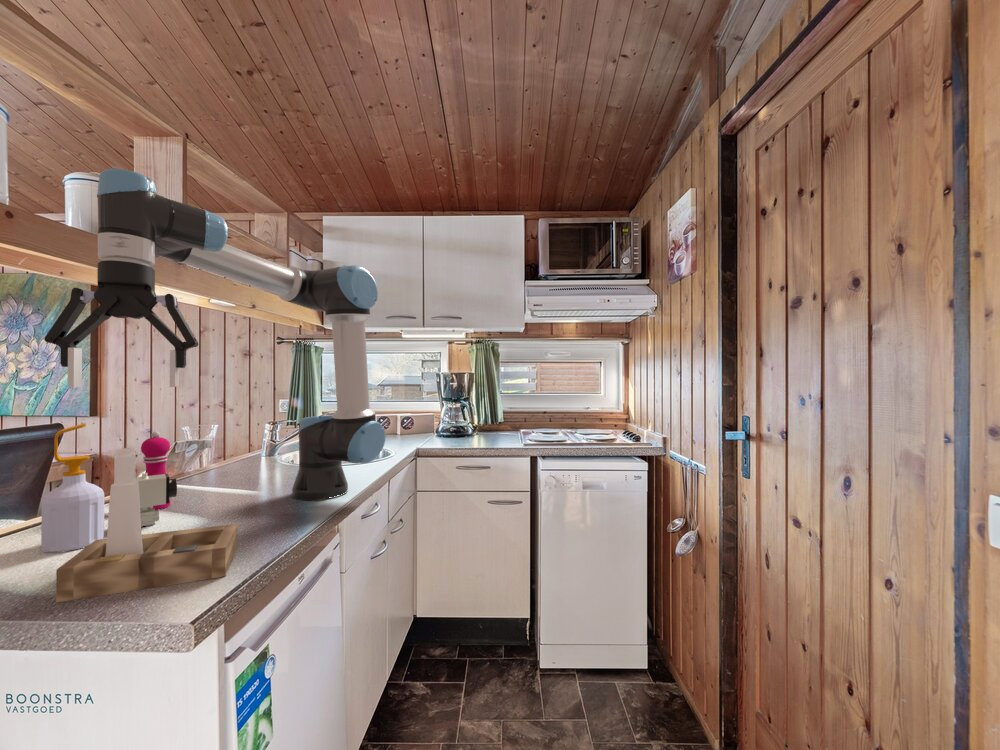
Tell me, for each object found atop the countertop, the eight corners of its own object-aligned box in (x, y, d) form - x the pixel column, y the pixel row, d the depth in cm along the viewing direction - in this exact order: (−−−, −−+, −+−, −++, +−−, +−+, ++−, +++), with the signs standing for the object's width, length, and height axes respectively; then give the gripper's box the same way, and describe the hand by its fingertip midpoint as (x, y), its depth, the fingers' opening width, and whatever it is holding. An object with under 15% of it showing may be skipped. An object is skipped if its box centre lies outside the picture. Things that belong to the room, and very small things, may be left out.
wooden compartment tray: (237, 548, 86) (237, 522, 86) (225, 576, 74) (225, 545, 74) (95, 567, 77) (95, 538, 77) (56, 602, 66) (56, 567, 66)
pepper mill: (135, 507, 113) (136, 431, 113) (170, 501, 118) (170, 428, 118) (139, 513, 108) (139, 433, 108) (174, 507, 113) (175, 431, 113)
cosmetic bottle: (155, 568, 77) (156, 446, 77) (126, 585, 71) (127, 451, 71) (121, 569, 77) (122, 446, 77) (89, 585, 71) (90, 451, 71)
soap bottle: (104, 544, 88) (105, 424, 88) (39, 557, 82) (40, 428, 82) (103, 533, 94) (104, 421, 95) (42, 544, 88) (43, 424, 88)
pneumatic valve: (176, 522, 102) (177, 471, 102) (109, 533, 94) (110, 479, 94) (174, 516, 106) (175, 467, 106) (110, 527, 98) (111, 474, 98)
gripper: (14, 249, 66) (13, 388, 66) (208, 266, 76) (207, 386, 76) (42, 261, 73) (42, 386, 73) (216, 275, 83) (216, 385, 83)
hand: (126, 387), depth 74 cm, fingers open, 13 cm apart
